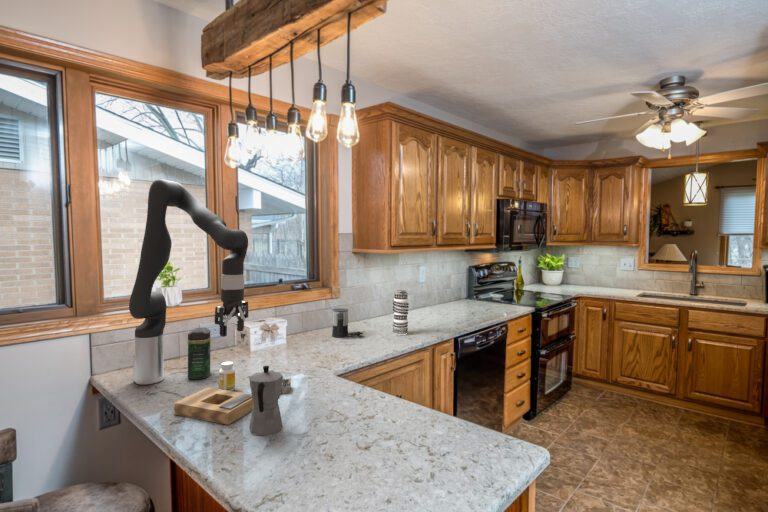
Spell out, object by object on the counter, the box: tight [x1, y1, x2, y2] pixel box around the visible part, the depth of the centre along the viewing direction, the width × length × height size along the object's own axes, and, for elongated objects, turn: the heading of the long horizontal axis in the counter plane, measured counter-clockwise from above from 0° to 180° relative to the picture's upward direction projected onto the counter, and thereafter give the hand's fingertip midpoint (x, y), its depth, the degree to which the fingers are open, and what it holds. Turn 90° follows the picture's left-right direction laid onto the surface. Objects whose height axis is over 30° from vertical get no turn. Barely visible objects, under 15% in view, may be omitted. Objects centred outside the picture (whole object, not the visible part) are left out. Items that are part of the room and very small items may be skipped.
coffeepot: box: [248, 365, 284, 437], centre depth 115 cm, size 15×9×18 cm, turn 6°
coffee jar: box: [187, 327, 211, 380], centre depth 159 cm, size 10×8×19 cm
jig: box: [173, 386, 254, 425], centre depth 128 cm, size 20×14×4 cm
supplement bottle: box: [218, 361, 236, 391], centre depth 145 cm, size 5×5×10 cm
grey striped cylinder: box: [392, 289, 410, 334], centre depth 233 cm, size 9×9×25 cm
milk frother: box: [331, 308, 364, 338], centre depth 227 cm, size 14×16×15 cm
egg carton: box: [280, 377, 292, 395], centre depth 145 cm, size 11×8×4 cm
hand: (232, 333), depth 142 cm, fingers open, 8 cm apart
